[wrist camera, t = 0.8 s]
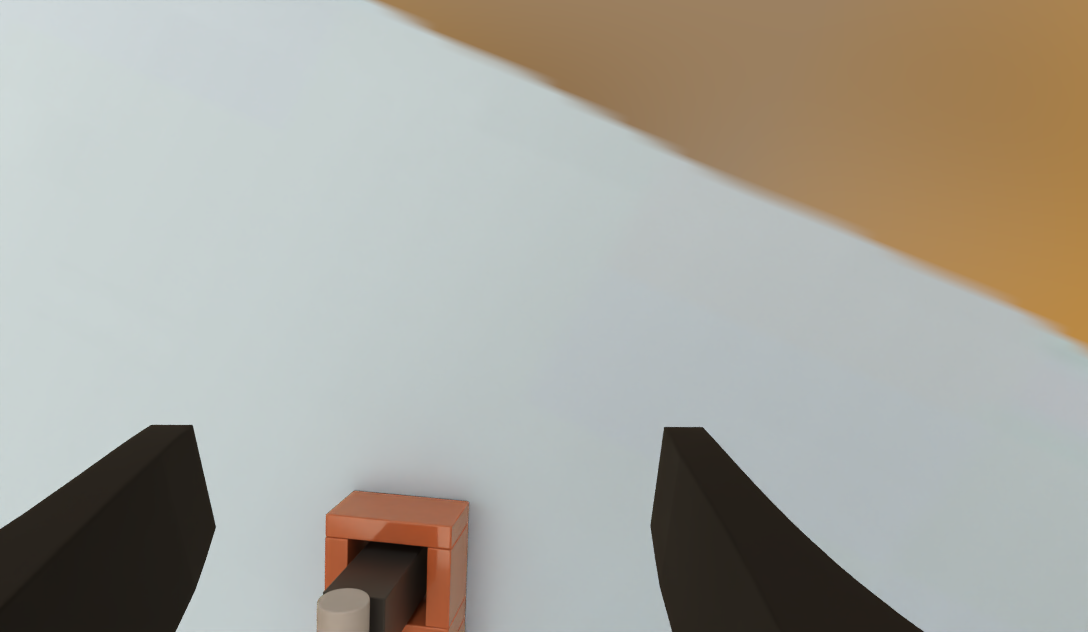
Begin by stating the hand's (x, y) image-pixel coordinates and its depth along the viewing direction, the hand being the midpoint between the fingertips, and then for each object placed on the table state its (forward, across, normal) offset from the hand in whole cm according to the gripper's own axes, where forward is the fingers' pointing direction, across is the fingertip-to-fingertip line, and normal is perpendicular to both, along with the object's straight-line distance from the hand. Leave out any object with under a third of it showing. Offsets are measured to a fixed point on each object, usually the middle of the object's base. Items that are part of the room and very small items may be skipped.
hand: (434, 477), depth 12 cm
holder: (+15, +3, +20) cm, 25 cm away
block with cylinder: (+16, +3, +18) cm, 24 cm away
